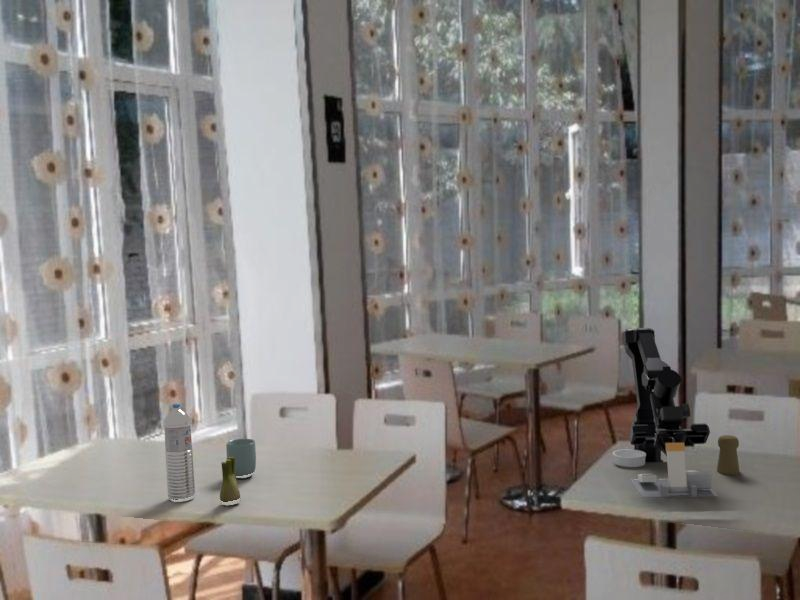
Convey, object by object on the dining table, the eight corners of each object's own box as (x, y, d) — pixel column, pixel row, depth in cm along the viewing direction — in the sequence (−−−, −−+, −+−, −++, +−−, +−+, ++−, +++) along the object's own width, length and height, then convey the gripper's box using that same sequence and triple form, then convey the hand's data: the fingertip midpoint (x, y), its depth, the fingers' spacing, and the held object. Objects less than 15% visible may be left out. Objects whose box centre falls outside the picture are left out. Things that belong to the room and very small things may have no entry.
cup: (222, 480, 244) (220, 444, 243) (238, 472, 251) (236, 437, 250) (247, 482, 241) (245, 446, 240) (261, 474, 248) (260, 439, 247)
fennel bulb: (226, 509, 219) (224, 462, 217) (214, 505, 222) (212, 459, 221) (245, 503, 223) (243, 457, 222) (233, 499, 226) (231, 454, 225)
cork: (742, 480, 228) (742, 439, 227) (717, 480, 229) (717, 438, 228) (738, 474, 234) (738, 433, 233) (714, 473, 235) (714, 432, 234)
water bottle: (181, 504, 223) (175, 407, 221) (162, 501, 227) (156, 405, 225) (200, 497, 229) (195, 402, 227) (182, 493, 233) (176, 400, 230)
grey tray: (629, 484, 228) (629, 469, 227) (700, 483, 227) (700, 468, 226) (641, 503, 213) (641, 487, 212) (717, 502, 212) (718, 486, 211)
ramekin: (610, 471, 240) (610, 456, 239) (615, 463, 248) (615, 447, 248) (644, 474, 236) (644, 458, 236) (647, 465, 245) (647, 450, 244)
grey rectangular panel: (684, 487, 218) (685, 471, 216) (709, 486, 217) (710, 471, 215) (685, 490, 216) (687, 475, 214) (710, 490, 216) (712, 474, 214)
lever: (668, 493, 214) (664, 442, 216) (686, 493, 214) (683, 442, 216) (669, 493, 213) (666, 442, 215) (688, 493, 212) (684, 442, 214)
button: (682, 479, 224) (682, 470, 223) (697, 479, 223) (697, 470, 223) (686, 484, 220) (686, 474, 220) (701, 484, 220) (701, 474, 219)
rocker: (638, 480, 225) (637, 473, 225) (652, 480, 225) (652, 473, 225) (642, 482, 220) (641, 475, 220) (656, 481, 220) (656, 474, 220)
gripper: (631, 393, 220) (641, 447, 210) (707, 391, 219) (721, 446, 209) (625, 417, 229) (634, 470, 219) (699, 415, 227) (711, 469, 217)
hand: (675, 464), depth 216 cm, fingers closed
